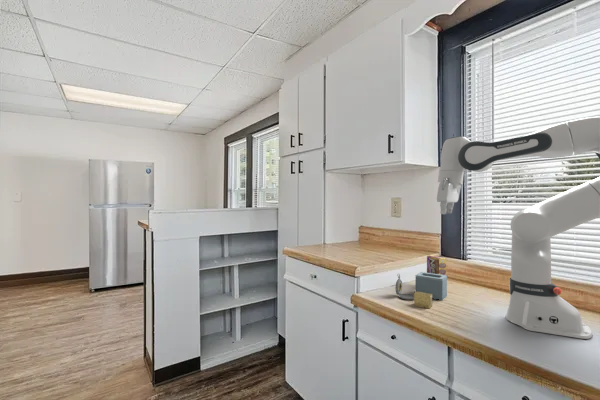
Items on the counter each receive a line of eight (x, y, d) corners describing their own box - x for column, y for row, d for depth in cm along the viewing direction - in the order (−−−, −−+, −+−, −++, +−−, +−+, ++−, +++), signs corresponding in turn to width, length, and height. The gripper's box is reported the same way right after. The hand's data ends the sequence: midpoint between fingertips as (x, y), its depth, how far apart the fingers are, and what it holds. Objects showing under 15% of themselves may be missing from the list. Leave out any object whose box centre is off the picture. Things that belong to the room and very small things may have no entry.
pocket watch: (417, 300, 129) (417, 276, 129) (397, 300, 129) (397, 276, 129) (411, 294, 137) (411, 272, 137) (392, 294, 137) (392, 272, 137)
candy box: (446, 291, 142) (446, 258, 142) (438, 292, 141) (438, 258, 141) (434, 286, 151) (434, 254, 151) (426, 286, 150) (426, 255, 150)
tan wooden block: (432, 306, 122) (432, 294, 122) (430, 308, 119) (430, 295, 119) (416, 303, 125) (416, 291, 125) (414, 305, 123) (414, 293, 123)
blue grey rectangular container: (446, 296, 135) (446, 275, 135) (442, 300, 129) (442, 279, 129) (420, 291, 142) (420, 271, 142) (415, 295, 135) (415, 275, 135)
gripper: (453, 177, 111) (448, 216, 112) (464, 180, 127) (460, 213, 128) (434, 176, 115) (430, 213, 116) (447, 179, 131) (443, 211, 132)
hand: (446, 213), depth 122 cm, fingers open, 8 cm apart
